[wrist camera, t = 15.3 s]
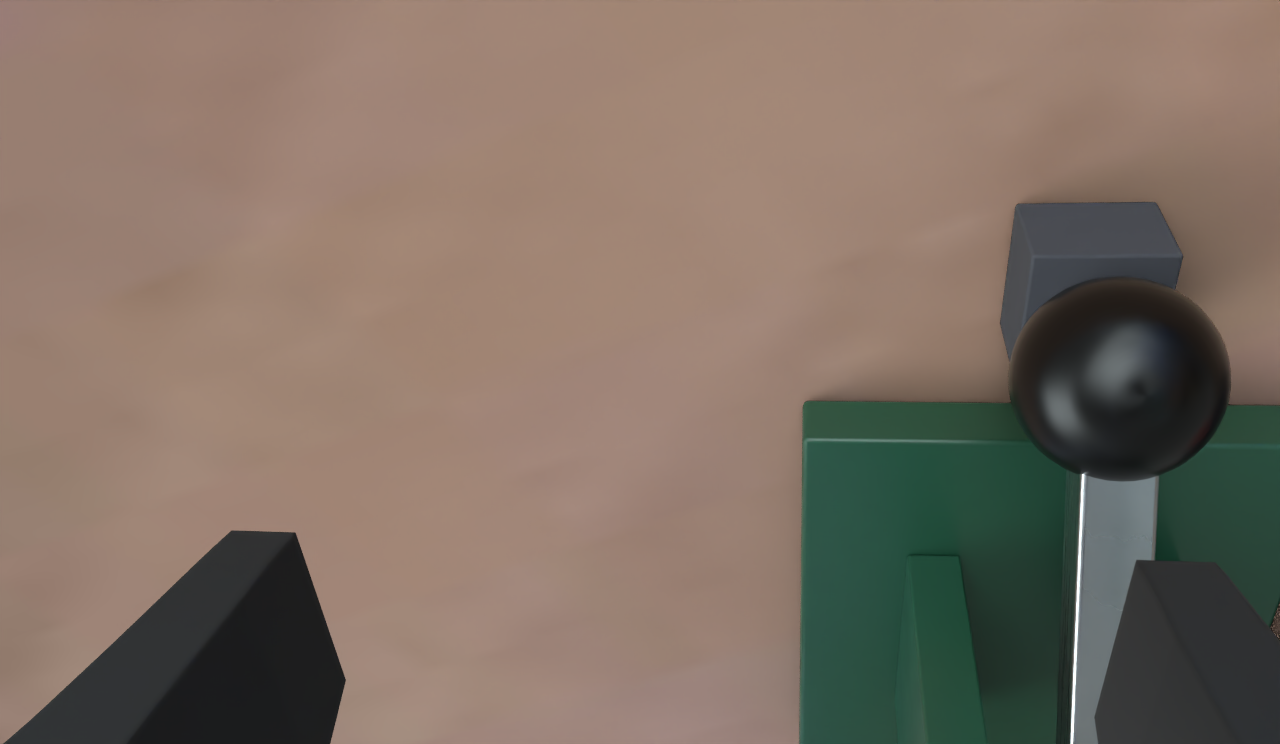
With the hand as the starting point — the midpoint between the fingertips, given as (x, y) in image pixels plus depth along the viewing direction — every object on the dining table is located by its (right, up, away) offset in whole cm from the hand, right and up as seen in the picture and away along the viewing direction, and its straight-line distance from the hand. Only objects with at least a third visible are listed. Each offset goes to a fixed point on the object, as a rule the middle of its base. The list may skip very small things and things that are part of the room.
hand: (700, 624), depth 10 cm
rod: (+7, -2, +9) cm, 11 cm away
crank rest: (+7, +4, +9) cm, 12 cm away
